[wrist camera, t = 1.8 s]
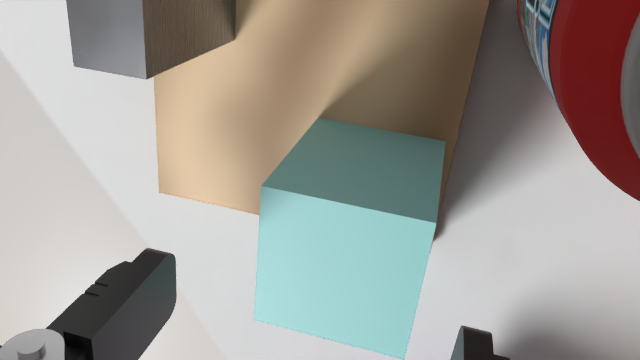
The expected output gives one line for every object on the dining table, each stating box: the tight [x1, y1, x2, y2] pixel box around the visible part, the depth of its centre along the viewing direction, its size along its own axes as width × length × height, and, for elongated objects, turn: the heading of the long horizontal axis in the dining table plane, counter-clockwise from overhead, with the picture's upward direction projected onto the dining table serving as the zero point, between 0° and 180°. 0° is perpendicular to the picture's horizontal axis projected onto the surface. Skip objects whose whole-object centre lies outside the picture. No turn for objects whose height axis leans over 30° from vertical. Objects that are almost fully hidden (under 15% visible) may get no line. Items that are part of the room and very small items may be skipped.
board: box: [154, 0, 490, 252], centre depth 21 cm, size 13×12×1 cm
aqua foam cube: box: [254, 118, 446, 360], centre depth 19 cm, size 5×5×7 cm
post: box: [66, 0, 236, 79], centre depth 18 cm, size 2×2×6 cm
